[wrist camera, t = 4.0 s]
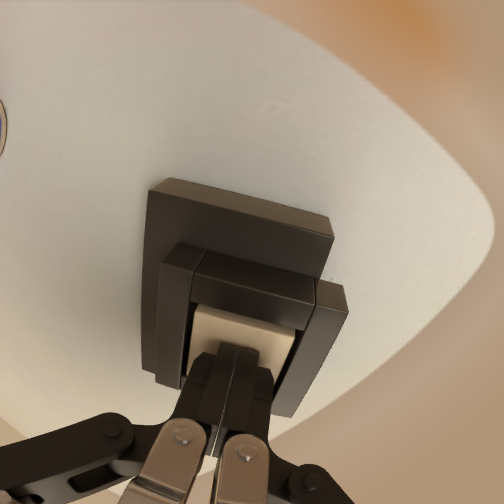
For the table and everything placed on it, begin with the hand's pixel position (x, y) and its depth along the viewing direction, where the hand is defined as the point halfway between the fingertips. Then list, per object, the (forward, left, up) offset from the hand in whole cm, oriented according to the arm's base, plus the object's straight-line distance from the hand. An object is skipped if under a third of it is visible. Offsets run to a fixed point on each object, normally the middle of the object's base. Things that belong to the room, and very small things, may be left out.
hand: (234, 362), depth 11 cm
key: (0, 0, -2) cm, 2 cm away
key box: (0, -1, -4) cm, 4 cm away
